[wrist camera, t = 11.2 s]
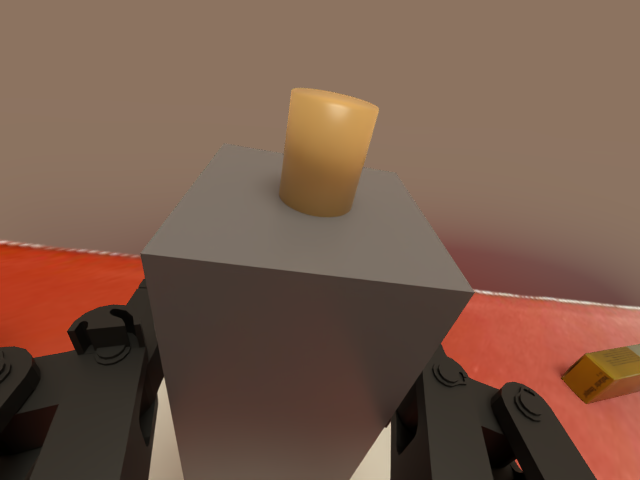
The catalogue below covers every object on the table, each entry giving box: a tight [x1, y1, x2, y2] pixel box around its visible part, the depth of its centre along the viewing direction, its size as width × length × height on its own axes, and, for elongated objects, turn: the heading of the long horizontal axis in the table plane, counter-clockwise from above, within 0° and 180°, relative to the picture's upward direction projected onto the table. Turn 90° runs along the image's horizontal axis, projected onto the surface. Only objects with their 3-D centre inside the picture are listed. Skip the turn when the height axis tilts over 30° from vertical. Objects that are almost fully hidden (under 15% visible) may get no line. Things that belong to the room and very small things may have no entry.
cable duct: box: [148, 358, 452, 480], centre depth 16 cm, size 24×14×3 cm, turn 92°
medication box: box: [561, 344, 640, 404], centre depth 28 cm, size 12×3×4 cm, turn 105°
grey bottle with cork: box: [141, 88, 475, 480], centre depth 9 cm, size 5×5×13 cm
